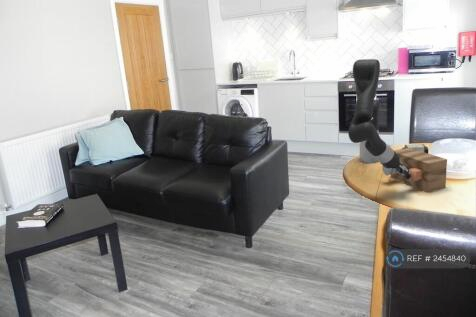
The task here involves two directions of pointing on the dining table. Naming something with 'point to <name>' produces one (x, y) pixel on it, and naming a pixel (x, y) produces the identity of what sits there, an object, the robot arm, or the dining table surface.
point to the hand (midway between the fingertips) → (408, 177)
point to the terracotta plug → (415, 174)
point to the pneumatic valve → (417, 147)
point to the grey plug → (388, 170)
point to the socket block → (428, 163)
